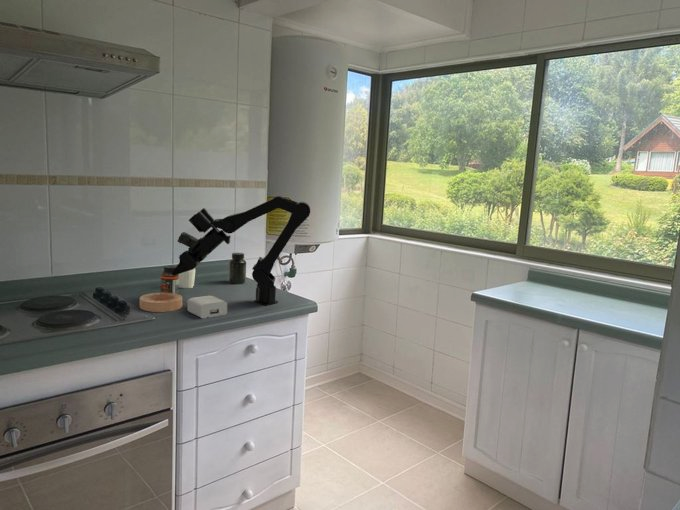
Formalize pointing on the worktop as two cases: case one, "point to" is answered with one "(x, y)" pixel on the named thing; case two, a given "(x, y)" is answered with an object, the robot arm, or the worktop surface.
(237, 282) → the supplement bottle
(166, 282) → the supplement bottle
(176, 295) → the collar
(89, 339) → the worktop surface
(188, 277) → the white tapered cylinder
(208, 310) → the charger
